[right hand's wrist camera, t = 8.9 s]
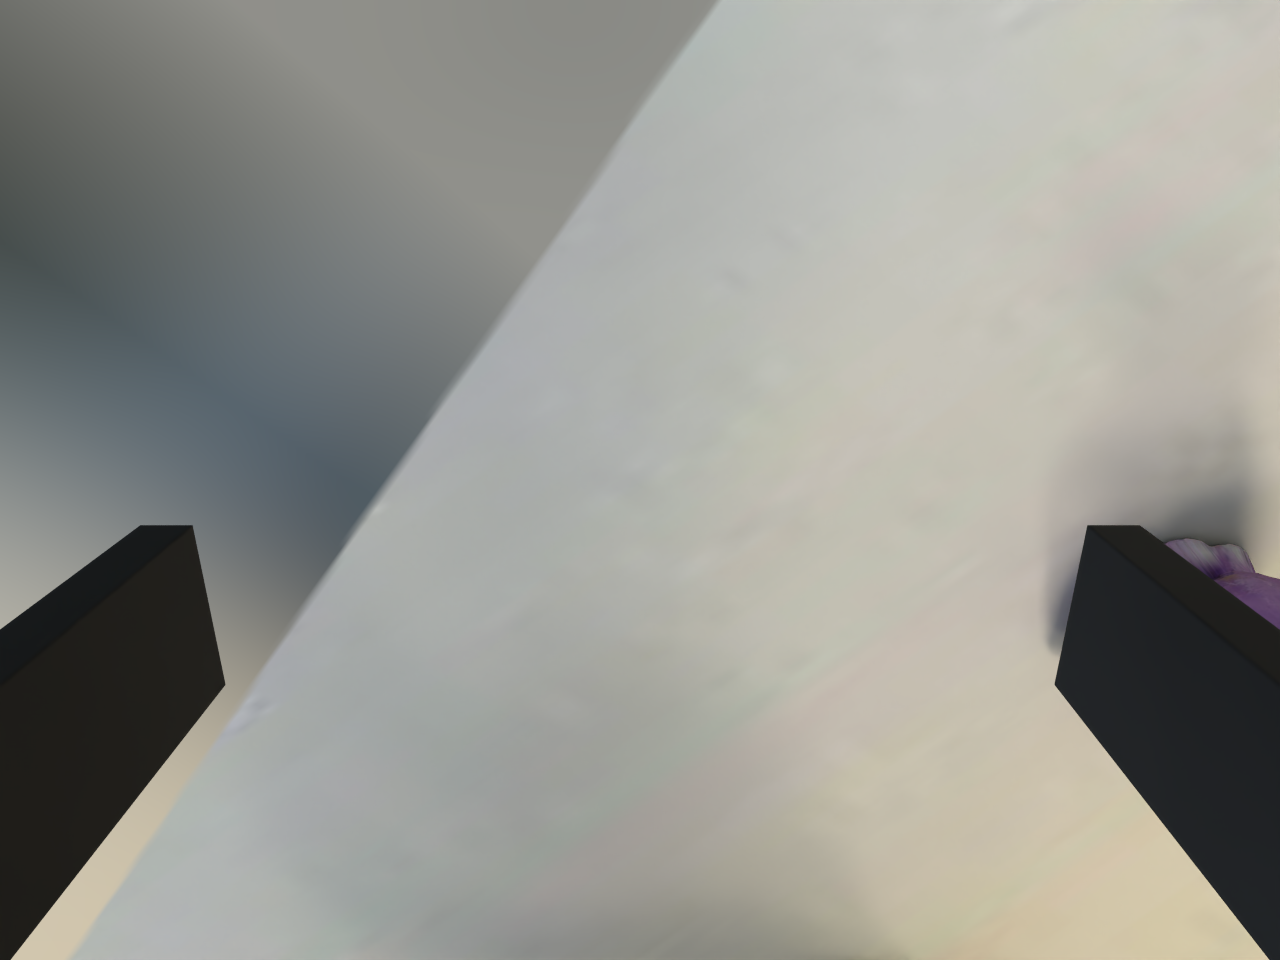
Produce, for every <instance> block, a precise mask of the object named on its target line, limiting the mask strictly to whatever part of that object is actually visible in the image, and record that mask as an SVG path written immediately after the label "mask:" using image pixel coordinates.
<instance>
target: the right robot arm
mask: <svg viewBox="0 0 1280 960" xmlns="http://www.w3.org/2000/svg"><path fill="white" fill-rule="evenodd" d="M224 686H225V680H224V675H223V671H222V666H221V661H220V656H219V651H218V646H217V642H216V637H215V632H214V627H213V622H212V617H211V612H210V608H209V603H208V598H207V593H206V588H205V584H204V579H203V574H202V569H201V564H200V559H199V554H198V550H197V545H196V540H195V535H194V530H193V526H192V525H140V526H139V527H138V528H136V529H135V530H133V531H132V532H131V533H129V534H128V535H127V536H125V537H124V538H123V539H121V540H120V541H119V542H117V543H116V544H115V545H113V546H112V547H111V548H109V549H108V550H107V551H105V552H104V553H103V554H101V555H100V556H98V557H97V558H96V559H95V560H93V561H92V562H90V563H89V564H88V565H86V566H85V567H84V568H82V569H81V570H80V571H78V572H77V573H76V574H74V575H73V576H72V577H70V578H69V579H68V580H66V581H65V582H63V583H62V584H61V585H59V586H58V587H57V588H55V589H54V590H53V591H51V592H50V593H49V594H47V595H46V596H45V597H43V598H42V599H41V600H39V601H38V602H37V603H35V604H34V605H33V606H31V607H30V608H29V609H27V610H26V611H24V612H23V613H22V614H20V615H19V616H18V617H16V618H15V619H14V620H12V621H11V622H10V623H8V624H7V625H6V626H4V627H3V628H2V629H0V960H11V959H12V957H13V956H14V955H15V953H16V952H17V951H18V950H19V948H20V947H21V946H22V944H23V943H24V942H25V941H26V939H27V938H28V937H29V935H30V934H31V933H32V932H33V930H34V929H35V928H36V927H37V925H38V924H39V923H40V921H41V920H42V919H43V918H44V916H45V915H46V914H47V912H48V911H49V910H50V909H51V907H52V906H53V905H54V903H55V902H56V901H57V900H58V898H59V897H60V896H61V895H62V893H63V892H64V891H65V889H66V888H67V887H68V886H69V884H70V883H71V882H72V880H73V879H74V878H75V877H76V875H77V874H78V873H79V871H80V870H81V869H82V868H83V866H84V865H85V864H86V862H87V861H88V860H89V859H90V857H91V856H92V855H93V853H94V852H95V851H96V850H97V848H98V847H99V846H100V844H101V843H102V842H103V841H104V839H105V838H106V837H107V836H108V834H109V833H110V832H111V831H112V829H113V828H114V827H115V825H116V824H117V823H118V822H119V820H120V819H121V818H122V816H123V815H124V814H125V813H126V811H127V810H128V809H129V807H130V806H131V805H132V804H133V802H134V801H135V800H136V799H137V797H138V796H139V795H140V793H141V792H142V791H143V790H144V788H145V787H146V786H147V784H148V783H149V782H150V781H151V779H152V778H153V777H154V775H155V774H156V773H157V772H158V770H159V769H160V768H161V766H162V765H163V764H164V763H165V761H166V760H167V759H168V758H169V756H170V755H171V754H172V752H173V751H174V750H175V749H176V747H177V746H178V745H179V743H180V742H181V741H182V740H183V738H184V737H185V736H186V734H187V733H188V732H189V731H190V729H191V728H192V727H193V725H194V724H195V723H196V722H197V720H198V719H199V718H200V717H201V715H202V714H203V713H204V711H205V710H206V709H207V708H208V706H209V705H210V704H211V702H212V701H213V700H214V699H215V697H216V696H217V695H218V693H219V692H220V691H221V690H222V688H223V687H224ZM1055 686H1056V687H1057V688H1058V690H1059V691H1060V692H1061V694H1062V695H1063V696H1064V697H1065V699H1066V700H1067V701H1068V702H1069V704H1070V705H1071V706H1072V708H1073V709H1074V710H1075V711H1076V713H1077V714H1078V715H1079V717H1080V718H1081V719H1082V720H1083V722H1084V723H1085V724H1086V726H1087V727H1088V728H1089V729H1090V731H1091V732H1092V733H1093V734H1094V736H1095V737H1096V738H1097V740H1098V741H1099V742H1100V743H1101V745H1102V746H1103V747H1104V749H1105V750H1106V751H1107V752H1108V754H1109V755H1110V756H1111V758H1112V759H1113V760H1114V761H1115V763H1116V764H1117V765H1118V766H1119V768H1120V769H1121V770H1122V772H1123V773H1124V774H1125V775H1126V777H1127V778H1128V779H1129V781H1130V782H1131V783H1132V784H1133V786H1134V787H1135V788H1136V790H1137V791H1138V792H1139V793H1140V795H1141V796H1142V797H1143V799H1144V800H1145V801H1146V802H1147V804H1148V805H1149V806H1150V807H1151V809H1152V810H1153V811H1154V813H1155V814H1156V815H1157V816H1158V818H1159V819H1160V820H1161V822H1162V823H1163V824H1164V825H1165V827H1166V828H1167V829H1168V831H1169V832H1170V833H1171V834H1172V836H1173V837H1174V838H1175V839H1176V841H1177V842H1178V843H1179V845H1180V846H1181V847H1182V848H1183V850H1184V851H1185V852H1186V854H1187V855H1188V856H1189V857H1190V859H1191V860H1192V861H1193V863H1194V864H1195V865H1196V866H1197V868H1198V869H1199V870H1200V871H1201V873H1202V874H1203V875H1204V877H1205V878H1206V879H1207V880H1208V882H1209V883H1210V884H1211V886H1212V887H1213V888H1214V889H1215V891H1216V892H1217V893H1218V895H1219V896H1220V897H1221V898H1222V900H1223V901H1224V902H1225V903H1226V905H1227V906H1228V907H1229V909H1230V910H1231V911H1232V912H1233V914H1234V915H1235V916H1236V918H1237V919H1238V920H1239V921H1240V923H1241V924H1242V925H1243V927H1244V928H1245V929H1246V930H1247V932H1248V933H1249V934H1250V935H1251V937H1252V938H1253V939H1254V941H1255V942H1256V943H1257V944H1258V946H1259V947H1260V948H1261V950H1262V951H1263V952H1264V953H1265V955H1266V956H1267V957H1268V959H1269V960H1280V629H1278V628H1277V627H1276V626H1274V625H1273V624H1272V623H1270V622H1269V621H1268V620H1266V619H1265V618H1264V617H1262V616H1261V615H1260V614H1258V613H1257V612H1256V611H1254V610H1253V609H1251V608H1250V607H1249V606H1247V605H1246V604H1245V603H1243V602H1242V601H1241V600H1239V599H1238V598H1237V597H1235V596H1234V595H1233V594H1231V593H1230V592H1229V591H1227V590H1226V589H1225V588H1223V587H1222V586H1221V585H1219V584H1218V583H1217V582H1215V581H1214V580H1212V579H1211V578H1210V577H1208V576H1207V575H1206V574H1204V573H1203V572H1202V571H1200V570H1199V569H1198V568H1196V567H1195V566H1194V565H1192V564H1191V563H1190V562H1188V561H1187V560H1186V559H1184V558H1183V557H1182V556H1180V555H1179V554H1177V553H1176V552H1175V551H1173V550H1172V549H1171V548H1169V547H1168V546H1167V545H1165V544H1164V543H1163V542H1161V541H1160V540H1159V539H1157V538H1156V537H1155V536H1153V535H1152V534H1151V533H1149V532H1148V531H1147V530H1145V529H1144V528H1143V527H1141V526H1140V525H1087V530H1086V535H1085V540H1084V545H1083V550H1082V554H1081V559H1080V564H1079V569H1078V574H1077V579H1076V583H1075V588H1074V593H1073V598H1072V603H1071V608H1070V612H1069V617H1068V622H1067V627H1066V632H1065V637H1064V641H1063V646H1062V651H1061V656H1060V661H1059V666H1058V670H1057V675H1056V680H1055Z"/></svg>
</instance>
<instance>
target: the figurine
mask: <svg viewBox="0 0 1280 960" xmlns="http://www.w3.org/2000/svg"><path fill="white" fill-rule="evenodd" d="M1164 544H1165V545H1167V546H1168V547H1169V548H1171V549H1172V550H1173V551H1175V552H1176V553H1177V554H1179V555H1180V556H1182V557H1183V558H1184V559H1186V560H1187V561H1188V562H1190V563H1191V564H1192V565H1194V566H1195V567H1196V568H1198V569H1199V570H1200V571H1202V572H1203V573H1204V574H1206V575H1207V576H1208V577H1210V578H1211V579H1212V580H1214V581H1215V582H1217V583H1218V584H1219V585H1221V586H1222V587H1223V588H1225V589H1226V590H1227V591H1229V592H1230V593H1231V594H1233V595H1234V596H1235V597H1237V598H1238V599H1239V600H1241V601H1242V602H1243V603H1245V604H1246V605H1247V606H1249V607H1250V608H1251V609H1253V610H1254V611H1256V612H1257V613H1258V614H1260V615H1261V616H1262V617H1264V618H1265V619H1266V620H1268V621H1269V622H1270V623H1272V624H1273V625H1274V626H1276V627H1277V628H1278V629H1280V579H1277V578H1272V577H1269V576H1265V575H1262V574H1259V573H1255V570H1254V568H1253V566H1252V563H1251V561H1250V559H1249V557H1248V554H1247V553H1246V552H1245V551H1244V550H1243V548H1241V547H1239V546H1237V545H1233V544H1226V545H1216V546H1208V545H1207V544H1205V543H1204V542H1202V541H1200V540H1196V539H1188V538H1185V539H1182V540H1173V541H1169V542H1167V543H1164Z"/></svg>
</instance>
